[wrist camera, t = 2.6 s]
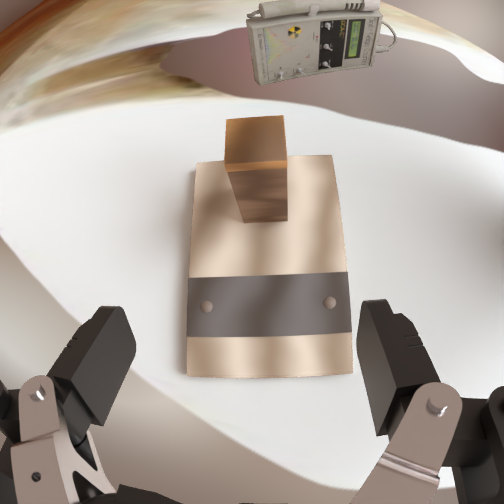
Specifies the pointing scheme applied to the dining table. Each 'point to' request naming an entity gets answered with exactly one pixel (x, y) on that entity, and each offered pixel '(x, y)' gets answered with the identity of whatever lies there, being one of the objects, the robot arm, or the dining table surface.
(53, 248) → the dining table surface
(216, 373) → the subfloor panel
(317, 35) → the geiger counter
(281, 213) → the walnut block
